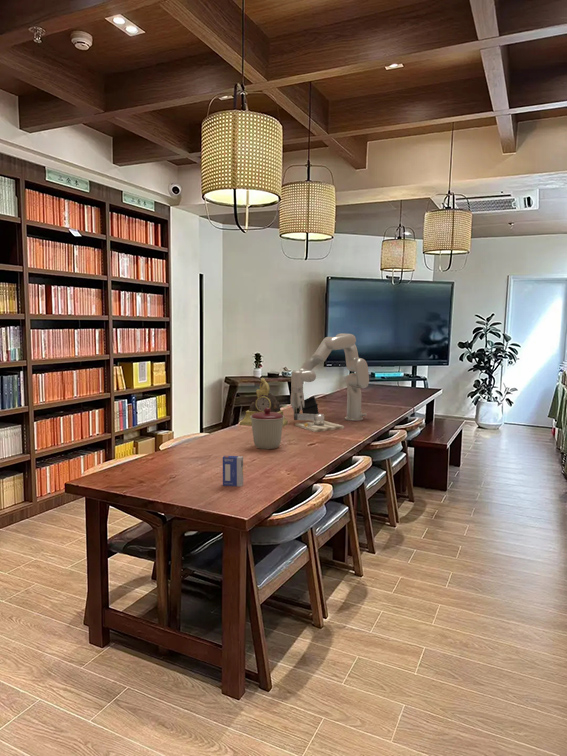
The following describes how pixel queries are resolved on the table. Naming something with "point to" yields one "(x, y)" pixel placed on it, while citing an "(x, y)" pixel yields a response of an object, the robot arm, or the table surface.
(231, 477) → the walkman
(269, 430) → the canister
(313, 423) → the dial base
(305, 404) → the black box
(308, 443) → the table surface
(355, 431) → the table surface
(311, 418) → the capstan lever
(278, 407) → the decorative clock
